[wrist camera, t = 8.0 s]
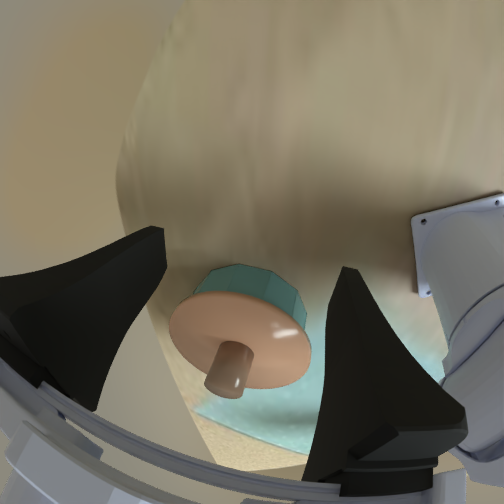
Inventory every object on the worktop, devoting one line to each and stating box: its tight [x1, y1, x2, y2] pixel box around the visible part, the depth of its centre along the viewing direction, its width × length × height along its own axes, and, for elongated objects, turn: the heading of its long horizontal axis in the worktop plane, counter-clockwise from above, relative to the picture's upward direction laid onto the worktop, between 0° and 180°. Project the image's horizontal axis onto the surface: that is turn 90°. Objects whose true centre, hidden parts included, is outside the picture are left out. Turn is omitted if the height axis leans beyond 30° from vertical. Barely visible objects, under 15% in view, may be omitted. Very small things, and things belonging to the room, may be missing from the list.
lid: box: [169, 291, 311, 399], centre depth 22 cm, size 13×13×5 cm
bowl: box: [193, 264, 307, 330], centre depth 26 cm, size 11×11×4 cm
